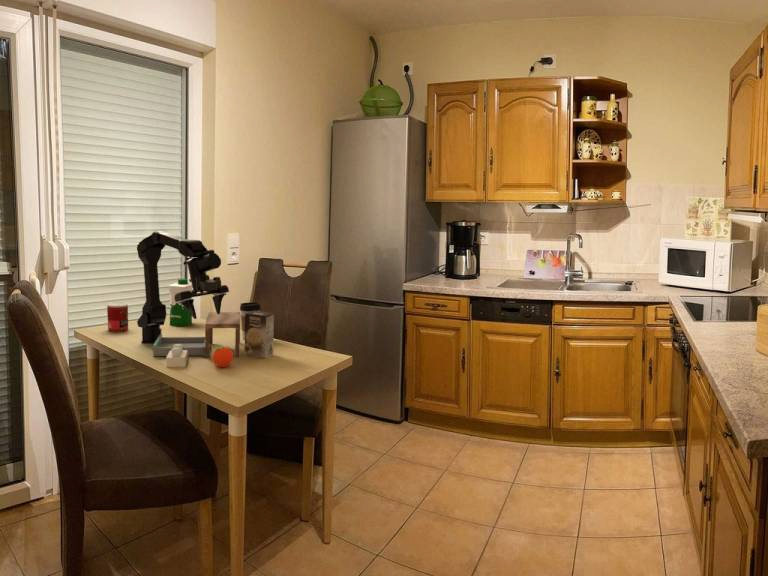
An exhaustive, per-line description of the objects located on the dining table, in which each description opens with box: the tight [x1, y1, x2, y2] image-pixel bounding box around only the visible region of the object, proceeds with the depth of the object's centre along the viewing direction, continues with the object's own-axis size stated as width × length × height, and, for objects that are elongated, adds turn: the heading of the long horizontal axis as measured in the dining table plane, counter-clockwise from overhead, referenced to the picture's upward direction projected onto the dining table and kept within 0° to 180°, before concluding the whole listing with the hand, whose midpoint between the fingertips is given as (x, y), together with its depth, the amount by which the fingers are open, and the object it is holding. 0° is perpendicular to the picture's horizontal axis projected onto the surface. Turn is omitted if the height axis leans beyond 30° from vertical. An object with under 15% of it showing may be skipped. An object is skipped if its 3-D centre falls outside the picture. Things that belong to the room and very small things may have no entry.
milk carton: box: [167, 278, 193, 327], centre depth 257 cm, size 9×9×20 cm
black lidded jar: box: [239, 302, 261, 341], centre depth 237 cm, size 8×8×15 cm
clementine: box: [210, 346, 234, 368], centre depth 198 cm, size 8×7×7 cm
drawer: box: [152, 334, 205, 357], centre depth 216 cm, size 18×16×4 cm
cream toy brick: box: [165, 344, 189, 367], centre depth 201 cm, size 6×9×6 cm, turn 13°
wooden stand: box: [204, 311, 241, 359], centre depth 219 cm, size 12×21×12 cm, turn 14°
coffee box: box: [244, 310, 275, 359], centre depth 214 cm, size 9×6×16 cm
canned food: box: [106, 302, 129, 333], centre depth 242 cm, size 8×8×11 cm
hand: (207, 316), depth 208 cm, fingers open, 9 cm apart
